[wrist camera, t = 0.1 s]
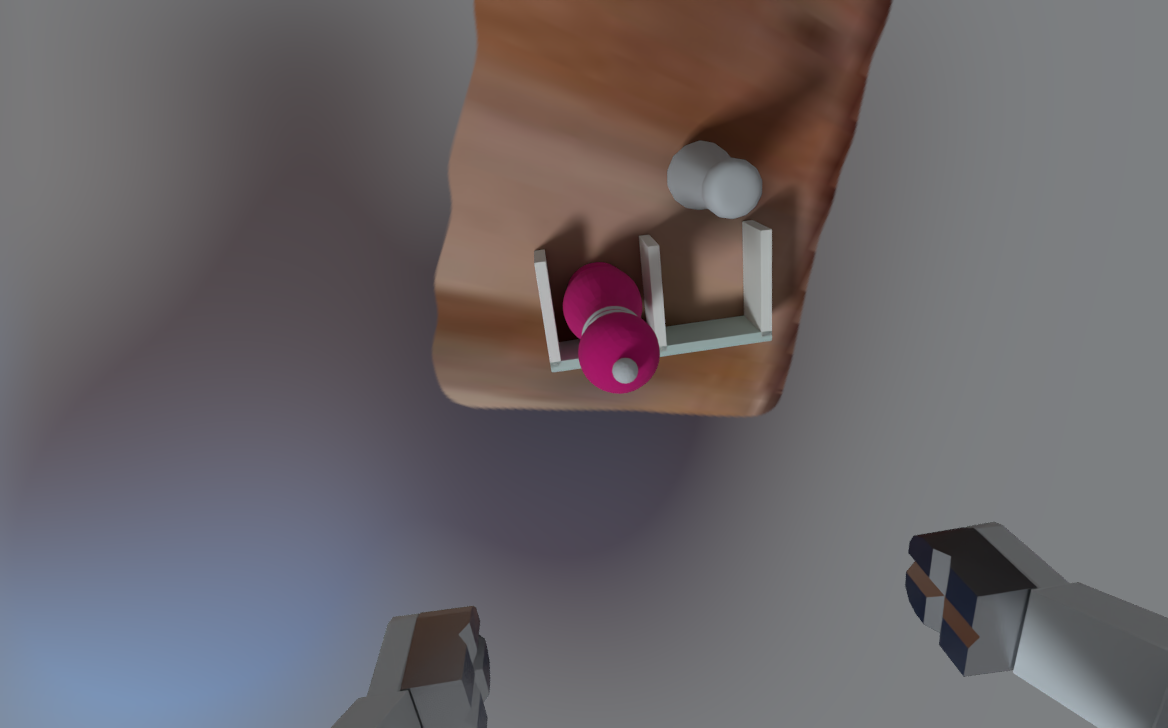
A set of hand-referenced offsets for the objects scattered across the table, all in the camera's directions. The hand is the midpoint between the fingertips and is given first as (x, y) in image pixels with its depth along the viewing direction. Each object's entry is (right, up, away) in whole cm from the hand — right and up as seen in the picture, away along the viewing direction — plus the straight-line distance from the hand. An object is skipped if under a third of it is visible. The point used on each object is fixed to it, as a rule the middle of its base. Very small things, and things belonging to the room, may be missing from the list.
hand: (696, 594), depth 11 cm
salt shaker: (+8, +22, +44) cm, 50 cm away
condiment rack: (+4, +12, +47) cm, 49 cm away
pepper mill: (-1, +11, +47) cm, 49 cm away
